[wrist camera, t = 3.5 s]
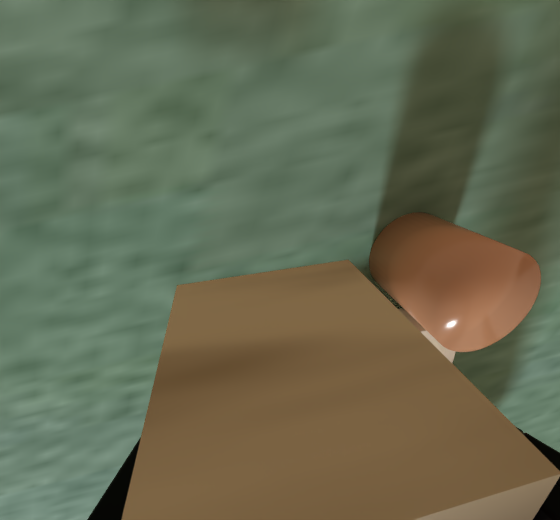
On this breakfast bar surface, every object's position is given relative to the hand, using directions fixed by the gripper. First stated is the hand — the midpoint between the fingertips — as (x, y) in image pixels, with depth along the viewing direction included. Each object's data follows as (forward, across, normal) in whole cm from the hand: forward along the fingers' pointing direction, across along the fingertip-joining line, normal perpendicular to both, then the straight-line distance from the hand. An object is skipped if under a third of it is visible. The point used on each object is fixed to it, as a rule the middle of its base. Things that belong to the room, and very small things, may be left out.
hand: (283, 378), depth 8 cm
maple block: (+2, 0, 0) cm, 2 cm away
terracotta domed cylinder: (+9, -10, +2) cm, 14 cm away
